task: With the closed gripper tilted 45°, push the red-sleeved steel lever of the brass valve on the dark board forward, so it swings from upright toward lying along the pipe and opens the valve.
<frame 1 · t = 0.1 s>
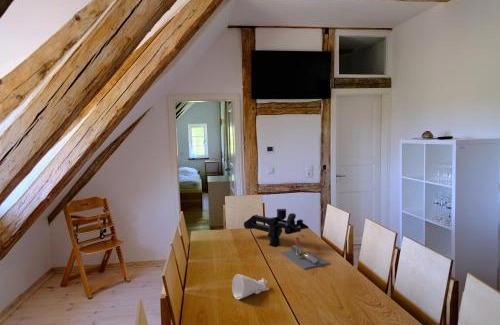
hand: (304, 228, 213), 17 cm above the table, tool horizontal, fingers open, 9 cm apart
rocket engine: (252, 295, 161), on the table
lever: (297, 247, 203), point 8 cm above the table, hinge at 0.0°
mounting board: (304, 258, 205), on the table
valve: (304, 258, 205), resting on mounting board
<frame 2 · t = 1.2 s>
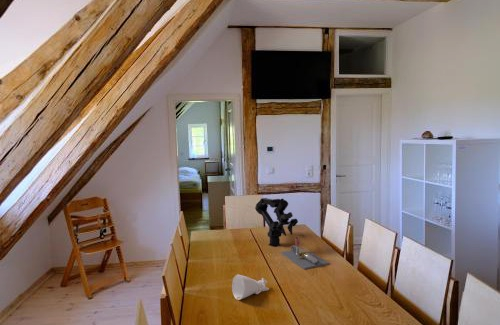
hand: (288, 235, 212), 13 cm above the table, tool tilted 45°, fingers open, 4 cm apart
nothing on the table moved.
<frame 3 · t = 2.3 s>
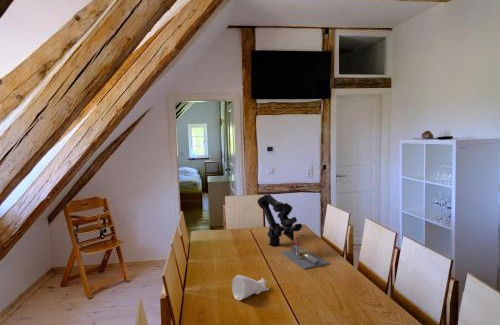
hand: (293, 240, 207), 11 cm above the table, tool tilted 45°, fingers closed
nothing on the table moved.
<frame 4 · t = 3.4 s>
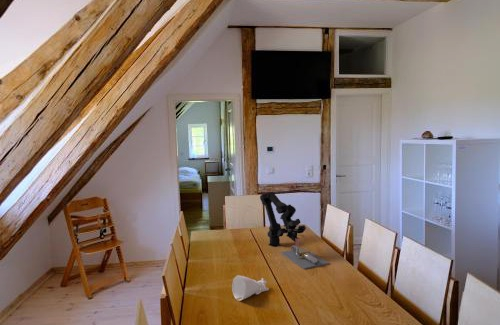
hand: (296, 242, 203), 11 cm above the table, tool tilted 45°, fingers closed, pressing on lever
lever: (297, 247, 203), point 8 cm above the table, hinge at 1.0°, touching gripper
everything else where it was.
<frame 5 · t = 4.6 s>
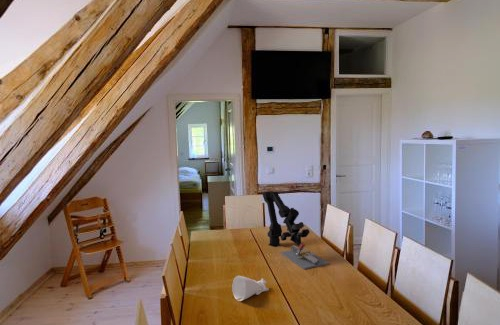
hand: (300, 246, 199), 10 cm above the table, tool tilted 50°, fingers closed, pressing on lever
lever: (300, 250, 200), point 7 cm above the table, hinge at 34.5°, touching gripper
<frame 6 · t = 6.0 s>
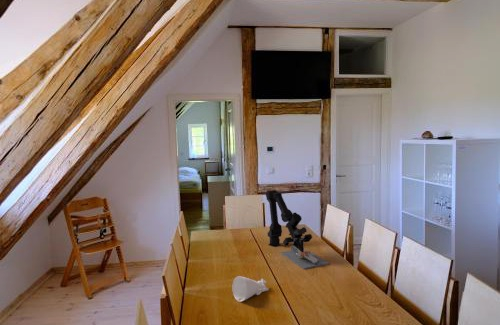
hand: (303, 252, 197), 7 cm above the table, tool tilted 45°, fingers closed, pressing on lever
lever: (301, 253, 199), point 5 cm above the table, hinge at 63.6°, touching gripper
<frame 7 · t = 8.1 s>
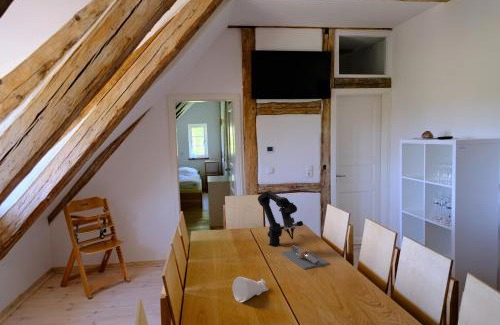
hand: (292, 239, 212), 10 cm above the table, tool tilted 25°, fingers closed
lever: (301, 254, 199), point 5 cm above the table, hinge at 63.9°
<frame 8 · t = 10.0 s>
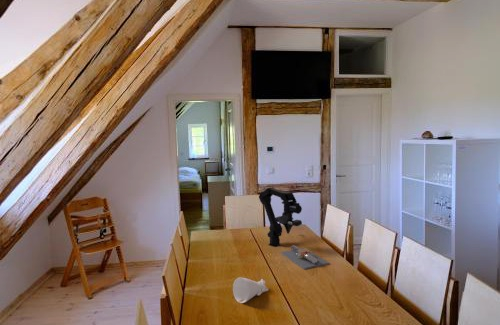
hand: (288, 233, 219), 12 cm above the table, tool pointing down, fingers closed
at the end: lever at +64° (first picture: +0°) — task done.
